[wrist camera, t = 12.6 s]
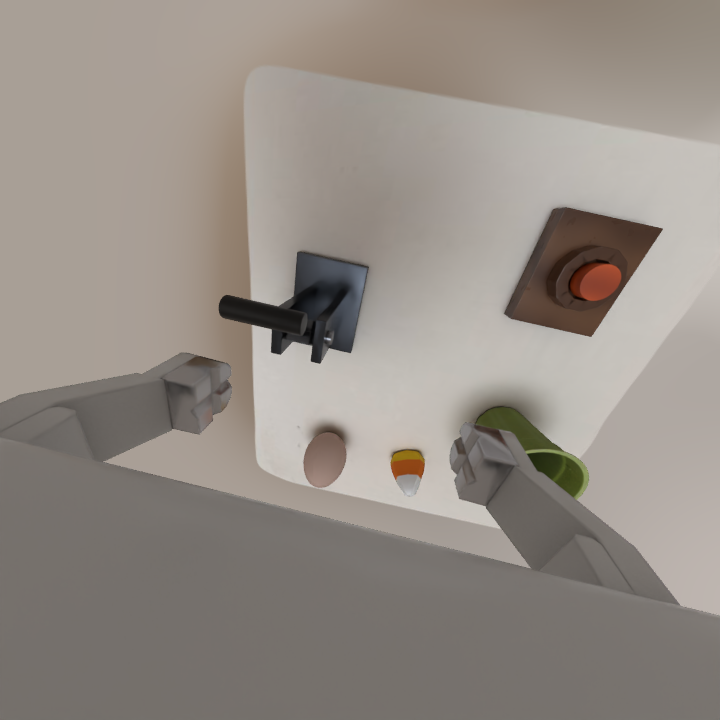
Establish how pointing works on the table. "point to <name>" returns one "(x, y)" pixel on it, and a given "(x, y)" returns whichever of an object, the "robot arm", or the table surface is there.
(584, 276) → the button
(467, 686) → the robot arm
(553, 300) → the button block
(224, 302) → the lever
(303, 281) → the bracket
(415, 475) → the candy corn
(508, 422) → the plant pot
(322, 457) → the egg
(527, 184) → the table surface
